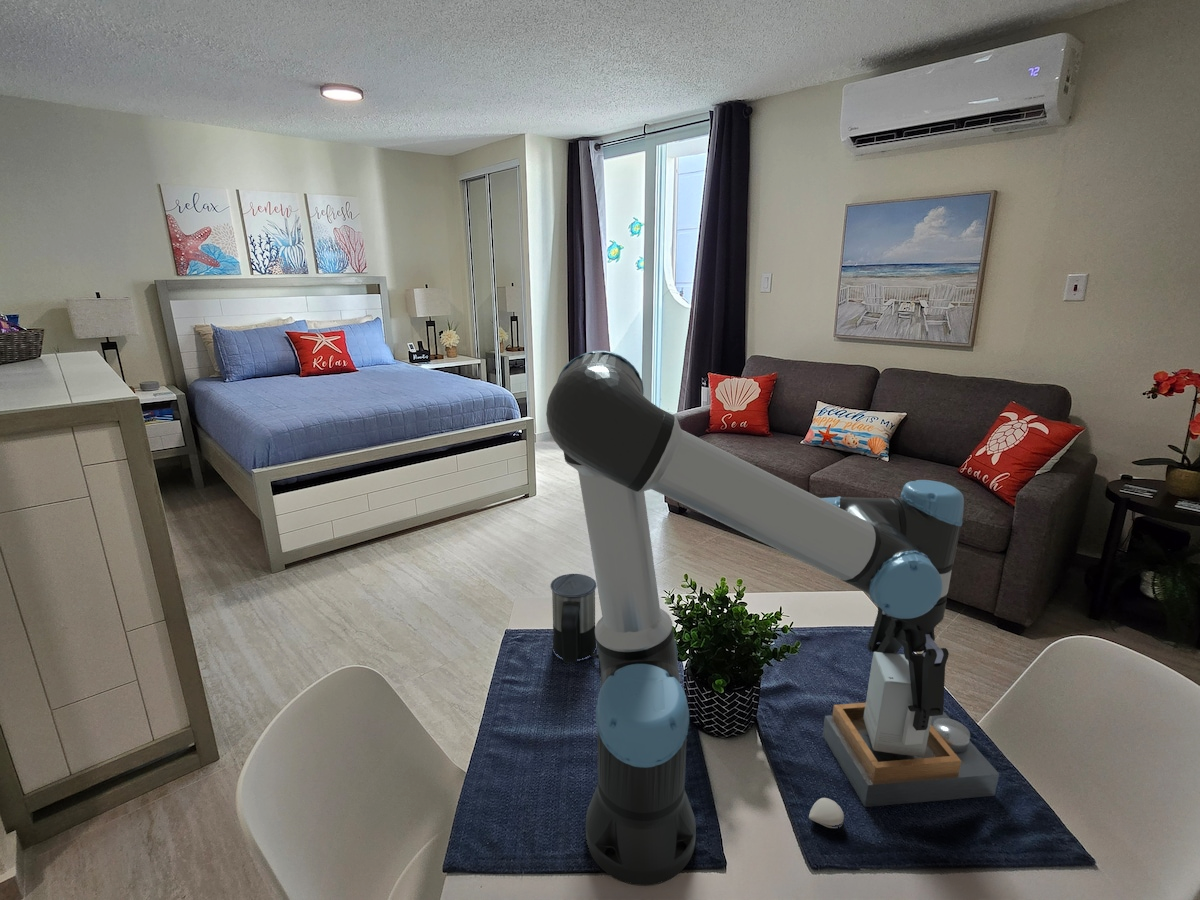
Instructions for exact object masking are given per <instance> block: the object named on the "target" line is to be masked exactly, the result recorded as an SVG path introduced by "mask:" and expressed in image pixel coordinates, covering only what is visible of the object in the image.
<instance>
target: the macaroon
mask: <svg viewBox="0 0 1200 900" xmlns="http://www.w3.org/2000/svg"><path fill="white" fill-rule="evenodd" d="M808 819H810V820H811V821H813V822H815V823H817V824H819V825H821V826H824V827H825V828H829V829H838V827H832V826H835V825H839V824H841V826H839V828H841V827H842V826H843V824H844V819H845V815H844V811H843V810H842V808H841V806H840V805H839V804H838V803H837V802H836V801H835V800H832V799H831V798H827V797H821V798H819V799H817V800H816V801H815V802H814V804H813V805H812V807H811V808H810V811H809V815H808Z"/></svg>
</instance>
